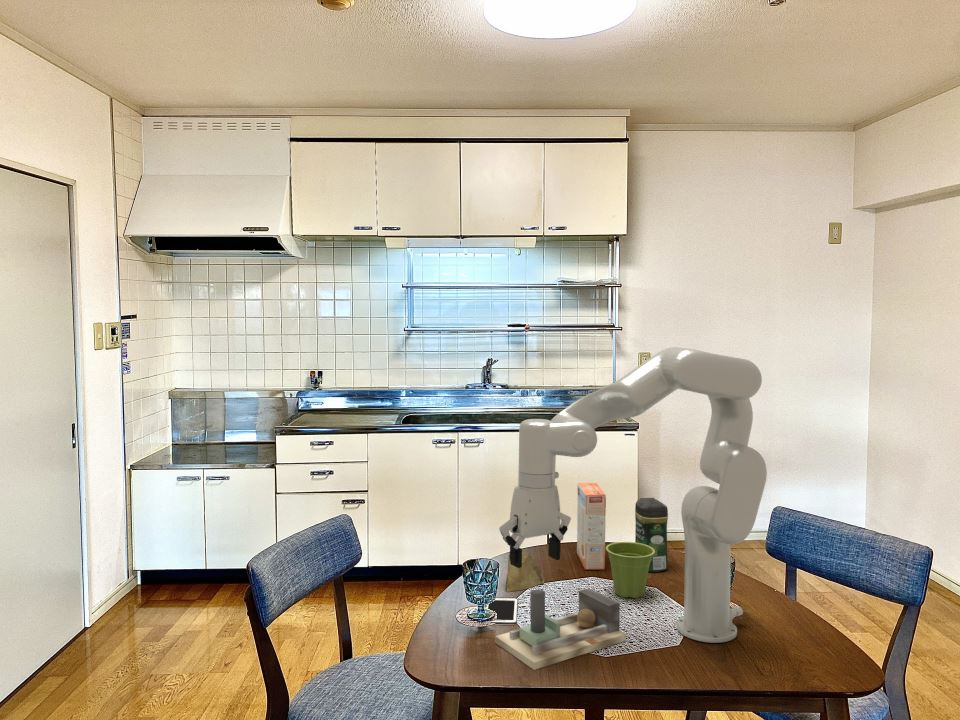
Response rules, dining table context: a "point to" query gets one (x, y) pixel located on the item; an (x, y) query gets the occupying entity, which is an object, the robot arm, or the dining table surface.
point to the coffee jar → (652, 530)
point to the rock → (523, 574)
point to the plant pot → (629, 567)
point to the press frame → (571, 633)
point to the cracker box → (591, 526)
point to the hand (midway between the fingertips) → (535, 562)
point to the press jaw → (539, 622)
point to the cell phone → (504, 610)
